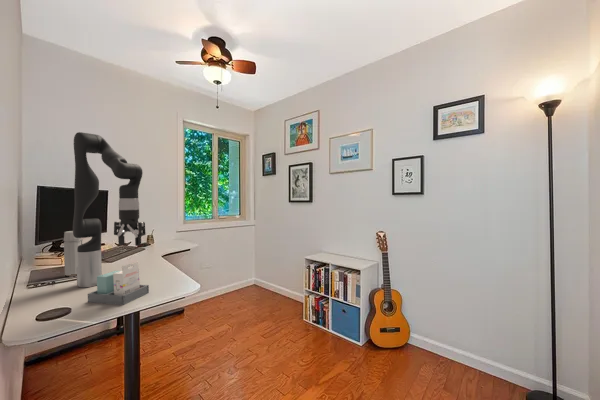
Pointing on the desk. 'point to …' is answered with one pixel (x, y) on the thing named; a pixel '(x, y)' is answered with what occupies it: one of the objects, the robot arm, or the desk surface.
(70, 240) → the water bottle
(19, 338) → the desk surface
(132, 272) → the ink cartridge box
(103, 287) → the teal block
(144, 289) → the cartridge holder
